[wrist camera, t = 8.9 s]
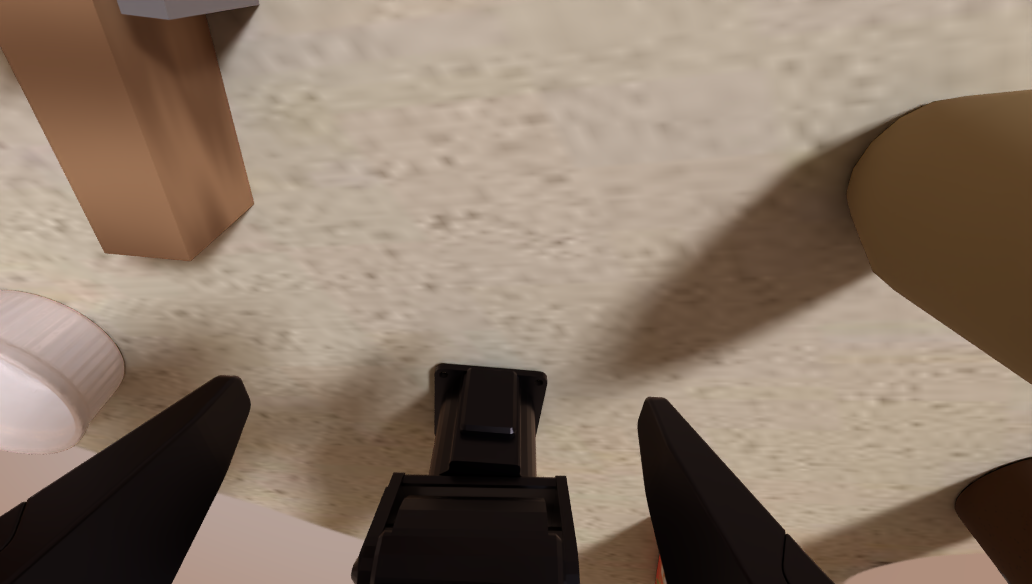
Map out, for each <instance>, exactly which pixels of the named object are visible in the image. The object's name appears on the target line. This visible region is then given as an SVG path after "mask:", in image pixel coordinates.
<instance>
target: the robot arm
mask: <svg viewBox="0 0 1032 584" xmlns="http://www.w3.org/2000/svg"><path fill="white" fill-rule="evenodd" d="M443 372H446V373H443ZM537 380H540V381H537ZM546 387H547V376H546V374H545V373H543V372H537V371H525V370H514V369H502V368H490V367H478V366H466V365H454V364H440V365H438V366H437V367H436V370H435V436H436V437H435V443H434V448H433V454H432V459H431V465H430V470H429V475H405V473H397V472H394V473H393V475H392V478H391V480H390V483H389V485H388V487H386V488H385V491H384V493H383V496H382V498H381V501H380V503H379V506H378V508H377V511H376V513H375V516H374V518H373V521H372V523H371V526H370V528H369V531H368V533H367V536H366V538H365V541H364V543H363V546H362V548H361V551H360V554H359V556H358V558H357V560H356V562H355V563H354V565H353V568H352V573H351V578H352V580H353V582H354V583H355V584H580V578H579V561H578V551H577V543H576V536H575V530H574V523H573V517H572V511H571V504H570V498H569V491H568V485H567V478H566V476H555V477H537V475H536V441H535V437H536V433H537V428H538V424H539V419H540V415H541V410H542V405H543V401H544V396H545V392H546ZM250 407H251V403H250V399H249V396H248V394H247V391H246V389H245V387H244V384H243V382H242V380H241V378H239V377H238V376H228V375H220V376H217V377H215V378H213V379H212V380H210V381H209V382H207V383H205V384H204V385H202V386H201V387H199V388H198V389H196V390H195V391H193V392H192V393H190V394H189V395H187V396H185V397H184V398H182V399H181V400H179V401H178V402H176V403H175V404H173V405H172V406H170V407H168V408H167V409H165V410H164V411H162V412H161V413H159V414H158V415H156V416H155V417H153V418H152V419H150V420H148V421H147V422H145V423H144V424H142V425H141V426H139V427H138V428H136V429H135V430H133V431H131V432H130V433H128V434H127V435H125V436H124V437H122V438H121V439H119V440H118V441H116V442H115V443H113V444H111V445H110V446H108V447H107V448H105V449H104V450H102V451H101V452H99V453H98V454H96V455H94V456H93V457H91V458H90V459H88V460H87V461H86V462H84V463H82V464H81V465H79V466H78V467H76V468H74V469H73V470H71V471H70V472H68V473H67V474H65V475H64V476H62V477H61V478H59V479H58V480H56V481H54V482H53V483H51V484H50V485H48V486H47V487H45V488H44V489H42V490H41V491H39V492H37V493H36V494H34V495H33V496H31V497H30V498H29V499H28V500H27V502H22V503H20V504H19V505H17V506H16V507H14V508H13V509H11V510H10V511H8V512H7V513H5V514H4V515H2V516H0V584H172V582H173V580H174V578H175V576H176V574H177V572H178V570H179V568H180V566H181V564H182V562H183V560H184V558H185V556H186V554H187V552H188V550H189V548H190V546H191V544H192V542H193V540H194V538H195V536H196V534H197V532H198V530H199V528H200V526H201V524H202V522H203V520H204V518H205V516H206V514H207V512H208V510H209V508H210V506H211V504H212V502H213V500H214V498H215V496H216V494H217V492H218V490H219V488H220V486H221V484H222V482H223V480H224V477H225V475H226V473H227V470H228V468H229V465H230V463H231V460H232V457H233V455H234V452H235V449H236V447H237V444H238V441H239V439H240V436H241V433H242V431H243V428H244V425H245V423H246V420H247V417H248V415H249V412H250ZM638 437H639V445H640V454H641V462H642V470H643V478H644V486H645V493H646V498H647V503H648V508H649V512H650V516H651V520H652V524H653V528H654V533H655V537H656V541H657V545H658V549H659V554H660V558H661V562H662V566H663V570H664V575H665V579H666V583H667V584H835V583H834V582H833V581H832V580H831V579H830V578H829V577H828V576H827V575H826V574H825V573H824V572H823V571H822V570H821V569H820V568H819V567H818V566H817V565H816V563H815V562H814V561H813V560H812V559H811V558H810V557H809V556H808V555H807V554H806V553H805V552H804V551H803V550H802V548H801V547H800V546H799V545H798V544H797V543H796V542H795V541H794V540H793V538H792V537H791V536H790V535H789V534H785V530H784V529H783V528H782V526H781V525H780V524H779V523H778V522H777V521H776V520H775V519H774V518H773V516H772V515H771V514H770V513H769V512H768V511H767V510H766V509H765V508H764V507H763V505H762V504H761V503H760V502H759V501H758V500H757V499H756V498H755V497H754V495H753V494H752V493H751V492H750V491H749V490H748V489H747V488H746V487H745V485H744V484H743V483H742V482H741V481H740V480H739V479H738V478H737V477H736V475H735V474H734V473H733V472H732V471H731V470H730V469H729V468H728V467H727V466H726V464H725V463H724V462H723V461H722V460H721V459H720V458H719V457H718V456H717V454H716V453H715V452H714V451H713V450H712V449H711V448H710V447H709V446H708V444H707V443H706V442H705V441H704V440H703V439H702V438H701V437H700V436H699V434H698V433H697V432H696V431H695V430H694V429H693V428H692V427H691V426H690V425H689V423H688V422H687V421H686V420H685V419H684V418H683V417H682V416H681V415H680V413H679V412H678V411H677V410H676V409H675V408H674V407H673V406H672V405H671V403H670V402H669V401H668V400H667V399H665V398H662V397H647V398H646V399H645V401H644V404H643V407H642V410H641V413H640V416H639V419H638Z"/></svg>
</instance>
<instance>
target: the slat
mask: <svg viewBox="0 0 1032 584" xmlns="http://www.w3.org/2000/svg"><path fill="white" fill-rule="evenodd" d="M0 46H1V48H2V50H3V52H4V54H5V56H6V58H7V60H8V62H9V64H10V66H11V68H12V70H13V72H14V74H15V76H16V78H17V80H18V82H19V84H20V86H21V88H22V90H23V92H24V94H25V96H26V98H27V100H28V102H29V104H30V106H31V108H32V110H33V112H34V114H35V116H36V118H37V120H38V122H39V124H40V126H41V128H42V130H43V132H44V134H45V136H46V138H47V139H48V141H49V143H50V145H51V147H52V149H53V151H54V153H55V155H56V157H57V159H58V161H59V163H60V165H61V167H62V169H63V171H64V173H65V175H66V177H67V179H68V181H69V183H70V185H71V187H72V189H73V191H74V193H75V195H76V197H77V199H78V201H79V203H80V205H81V207H82V209H83V211H84V213H85V215H86V217H87V219H88V221H89V223H90V225H91V227H92V229H93V231H94V233H95V235H96V237H97V239H98V241H99V243H100V245H101V247H102V249H103V250H104V252H105V253H108V254H119V255H130V256H141V257H152V258H162V259H173V260H184V261H191V260H192V259H194V258H195V257H196V256H197V255H198V254H199V253H200V252H201V251H202V250H204V249H205V248H206V247H207V246H208V245H209V244H210V243H211V242H212V241H213V240H215V239H216V238H217V237H218V236H219V235H220V234H221V233H222V232H223V231H225V230H226V229H227V228H228V227H229V226H230V225H231V224H232V223H233V222H235V221H236V220H237V219H238V218H239V217H240V216H241V215H242V214H243V213H244V212H246V211H247V210H248V209H249V208H250V207H251V206H252V205H253V204H254V201H253V197H252V193H251V189H250V185H249V181H248V177H247V173H246V170H245V166H244V162H243V158H242V154H241V150H240V146H239V142H238V138H237V135H236V131H235V127H234V123H233V119H232V115H231V111H230V107H229V103H228V100H227V96H226V92H225V88H224V84H223V80H222V76H221V72H220V68H219V65H218V61H217V57H216V53H215V49H214V45H213V41H212V37H211V34H210V30H209V26H208V22H207V18H206V14H201V15H195V16H189V17H183V18H178V19H172V20H167V19H158V18H150V17H142V16H134V15H126V14H121V11H120V8H119V6H118V3H117V0H0Z"/></svg>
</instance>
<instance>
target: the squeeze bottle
mask: <svg viewBox="0 0 1032 584" xmlns="http://www.w3.org/2000/svg"><path fill="white" fill-rule="evenodd" d="M846 196H847V201H848V206H849V210H850V215H851V217H852V220H853V222H854V225H855V227H856V230H857V232H858V235H859V238H860V240H861V243H862V245H863V248H864V250H865V253H866V255H867V258H868V260H869V263H870V266H871V268H872V271H873V272H874V273H875V274H876V275H877V276H879V277H880V278H881V279H882V280H883V281H884V282H885V283H887V284H888V285H889V286H890V287H891V288H892V289H893V290H895V291H896V292H898V293H899V294H901V295H902V296H903V297H905V298H906V299H908V300H909V301H911V302H912V303H914V304H915V305H917V306H918V307H919V308H921V309H922V310H924V311H925V312H927V313H928V314H930V315H931V316H933V317H934V318H935V319H937V320H938V321H940V322H941V323H943V324H944V325H946V326H947V327H949V328H950V329H952V330H953V331H954V332H956V333H957V334H959V335H960V336H962V337H963V338H965V339H966V340H968V341H969V342H970V343H972V344H973V345H975V346H976V347H978V348H979V349H981V350H982V351H984V352H985V353H987V354H988V355H989V356H991V357H992V358H994V359H995V360H997V361H998V362H1000V363H1001V364H1003V365H1004V366H1005V367H1007V368H1008V369H1010V370H1011V371H1013V372H1014V373H1016V374H1017V375H1019V376H1020V377H1021V378H1023V379H1024V380H1026V381H1027V382H1029V383H1030V384H1032V90H1023V91H1013V92H1003V93H993V94H983V95H973V96H964V97H958V98H952V99H946V100H940V101H933V102H931V103H929V104H927V105H925V106H923V107H921V108H919V109H917V110H915V111H913V112H911V113H909V114H907V115H905V116H903V117H901V118H899V119H898V120H897V121H896V122H895V123H893V124H892V125H891V126H890V127H889V128H888V129H886V130H885V131H884V132H883V133H882V134H880V135H879V136H878V137H877V138H876V139H875V140H873V141H872V142H871V144H870V145H869V147H868V148H867V149H866V151H865V152H864V154H863V155H862V157H861V158H860V160H859V161H858V162H857V164H856V165H855V167H854V168H853V171H852V175H851V178H850V182H849V185H848V189H847V193H846Z"/></svg>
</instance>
